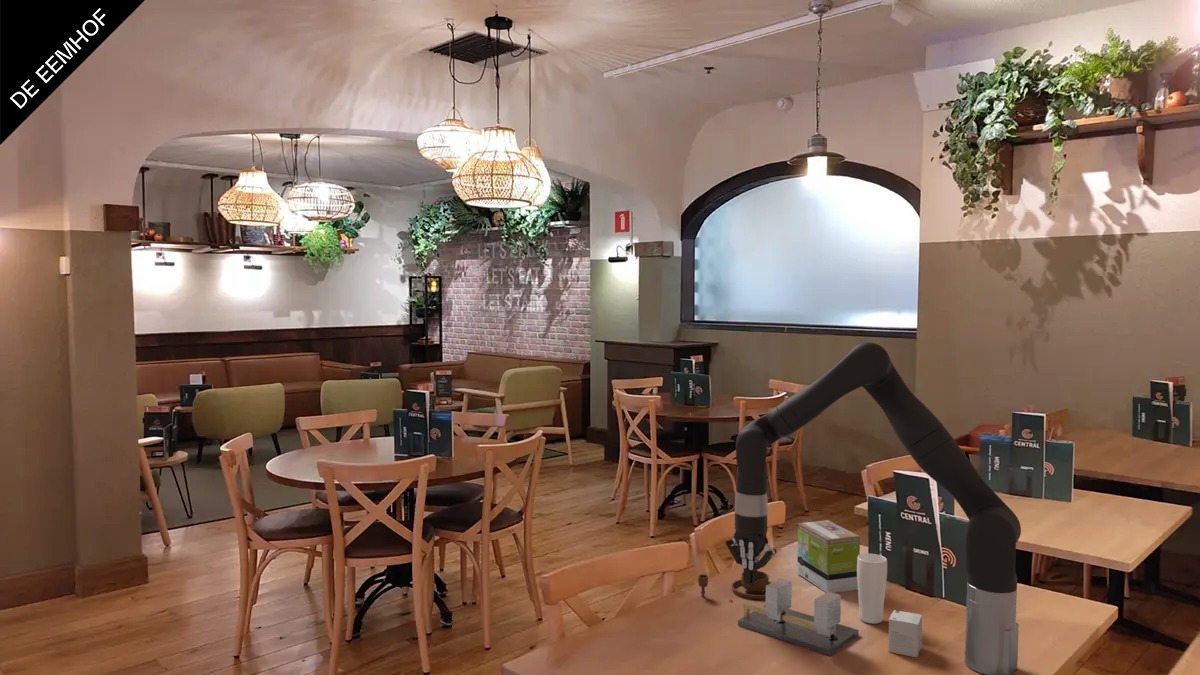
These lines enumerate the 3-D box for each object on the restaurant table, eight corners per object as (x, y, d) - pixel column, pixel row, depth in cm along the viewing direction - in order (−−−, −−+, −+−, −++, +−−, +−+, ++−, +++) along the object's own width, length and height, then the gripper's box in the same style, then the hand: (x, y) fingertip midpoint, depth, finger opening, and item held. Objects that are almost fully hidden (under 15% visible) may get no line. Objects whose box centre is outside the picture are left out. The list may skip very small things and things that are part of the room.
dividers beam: (839, 639, 174) (840, 595, 174) (826, 648, 170) (827, 603, 169) (753, 611, 189) (753, 571, 189) (738, 619, 185) (739, 578, 184)
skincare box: (917, 658, 168) (918, 624, 168) (887, 652, 171) (888, 618, 171) (921, 647, 173) (922, 614, 173) (892, 641, 176) (893, 609, 176)
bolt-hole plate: (858, 635, 179) (858, 629, 179) (830, 655, 169) (830, 650, 169) (768, 607, 195) (769, 602, 195) (737, 625, 184) (737, 620, 184)
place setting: (777, 608, 196) (777, 585, 195) (696, 601, 200) (696, 578, 200) (778, 583, 212) (779, 562, 212) (704, 577, 217) (704, 556, 217)
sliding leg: (791, 621, 183) (791, 581, 182) (776, 630, 178) (777, 589, 177) (779, 618, 185) (780, 578, 184) (765, 626, 180) (765, 585, 179)
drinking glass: (887, 627, 184) (889, 563, 183) (857, 624, 185) (858, 561, 184) (883, 615, 190) (885, 554, 189) (854, 613, 192) (855, 552, 191)
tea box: (795, 574, 218) (796, 521, 217) (827, 571, 221) (828, 518, 220) (827, 594, 204) (828, 538, 203) (860, 590, 207) (861, 534, 206)
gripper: (784, 513, 183) (783, 586, 184) (735, 502, 192) (734, 572, 193) (767, 519, 178) (766, 595, 179) (718, 508, 186) (717, 581, 187)
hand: (750, 583), depth 186 cm, fingers closed
